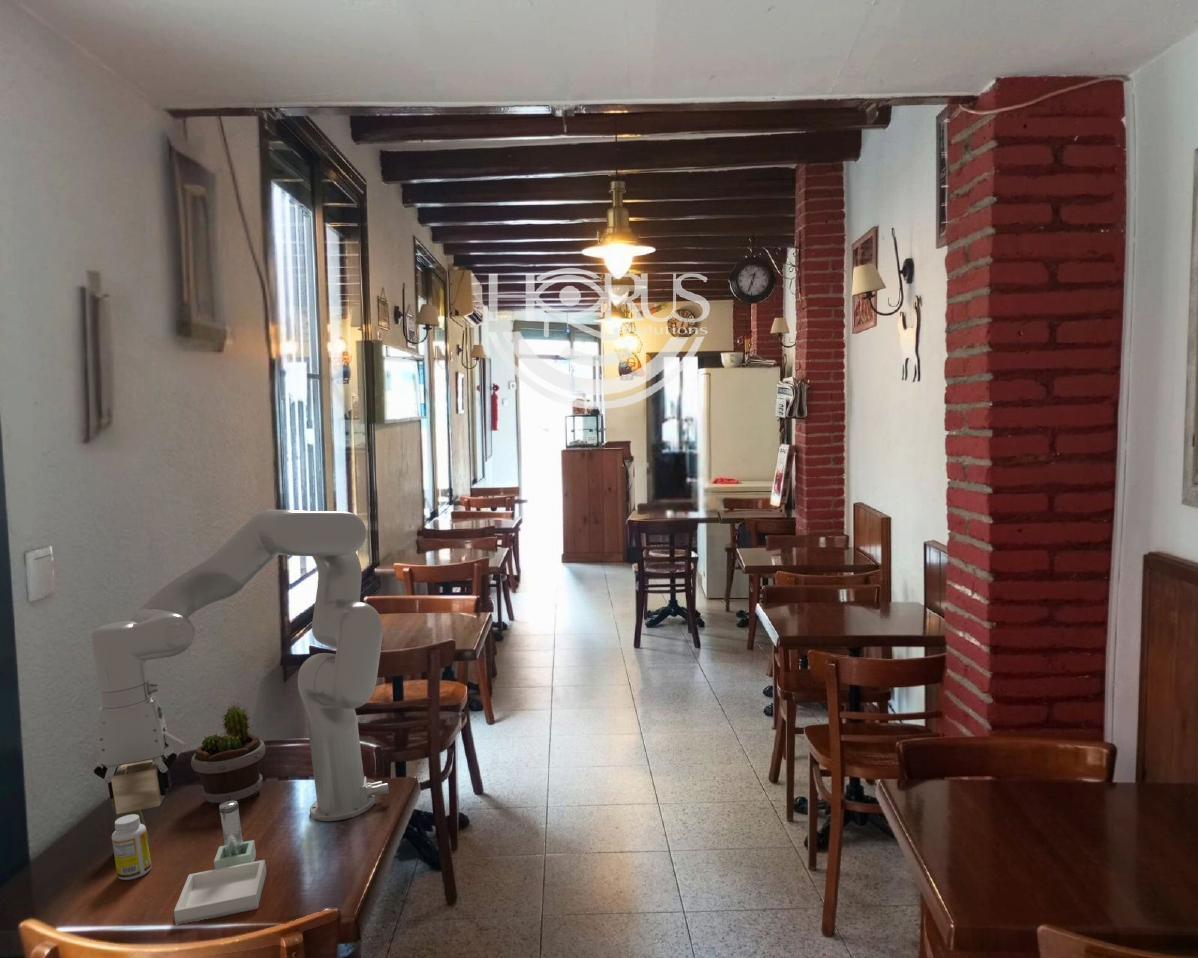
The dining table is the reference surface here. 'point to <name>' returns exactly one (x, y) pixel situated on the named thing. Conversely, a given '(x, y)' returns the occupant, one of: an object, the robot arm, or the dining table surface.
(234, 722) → the flowerpot
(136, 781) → the maple block
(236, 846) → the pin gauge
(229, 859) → the socket
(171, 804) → the dining table surface
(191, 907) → the tray
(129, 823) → the supplement bottle
